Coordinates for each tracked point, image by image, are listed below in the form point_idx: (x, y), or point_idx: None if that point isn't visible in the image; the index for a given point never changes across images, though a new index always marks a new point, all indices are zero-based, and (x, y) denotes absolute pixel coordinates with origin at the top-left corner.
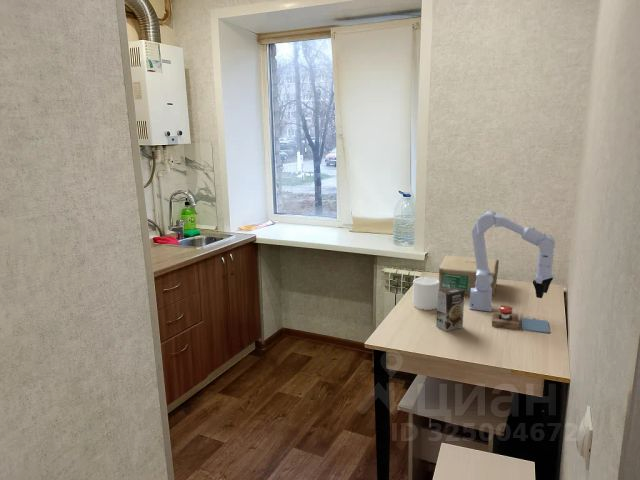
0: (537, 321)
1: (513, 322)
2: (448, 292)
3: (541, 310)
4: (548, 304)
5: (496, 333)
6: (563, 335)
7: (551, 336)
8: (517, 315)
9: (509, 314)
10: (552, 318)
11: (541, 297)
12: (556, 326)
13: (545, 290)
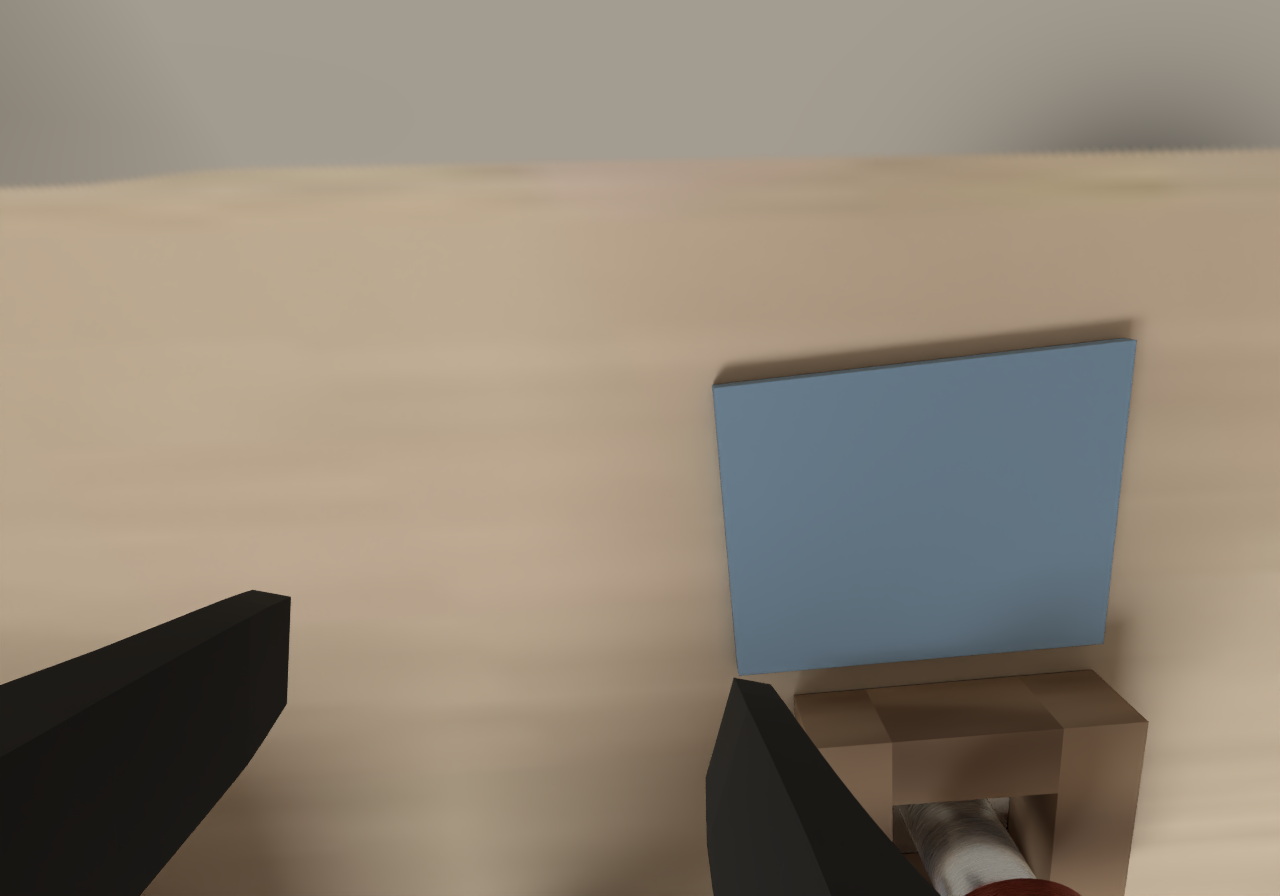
0: (796, 500)
1: (1115, 777)
2: None
3: (318, 467)
4: (16, 390)
5: (1250, 840)
6: (1153, 153)
7: (1223, 310)
8: (851, 754)
9: (1011, 875)
10: (552, 319)
11: (784, 705)
12: (839, 257)
13: (242, 666)
